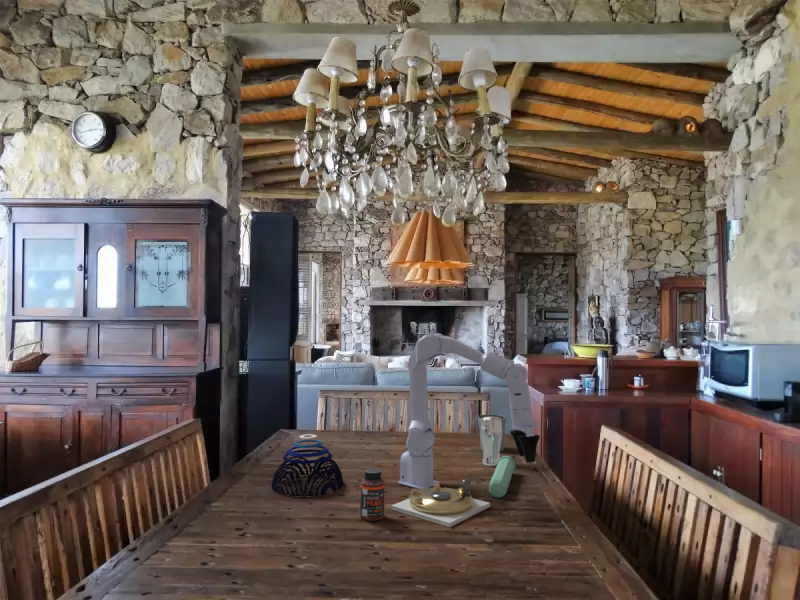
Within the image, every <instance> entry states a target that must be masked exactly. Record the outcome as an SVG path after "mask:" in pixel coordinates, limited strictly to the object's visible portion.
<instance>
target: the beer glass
mask: <svg viewBox="0 0 800 600" xmlns="http://www.w3.org/2000/svg"><path fill="white" fill-rule="evenodd" d="M481 438H482V444H483V450H482V451H483V456H482V460H481V461H482V465H485V466H489V467H497V461H498V460H499V459H500V458H501V457H500V455H501V454H500V445H501V439H502V422H501V418H499V417H491V416H488V417H482V420H481Z"/></svg>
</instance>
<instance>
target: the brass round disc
mask: <svg viewBox="0 0 800 600" xmlns="http://www.w3.org/2000/svg"><path fill="white" fill-rule="evenodd" d="M409 498H410V505H411V507H412V508H414V509H416V510H418V511H421V512H424V513H429V514H437V515H451V514H458V513H462V512H465V511H468V510H469V509H471V508H472V506H473V499H474V498H473V496H472V495H471V479H470V478H462V482H461V487H458V488H451V487H441V485H440V483H439V484H434V486H433V487H429V488H426V489H418V488H414V487H412V489H411V493H410V494H409Z"/></svg>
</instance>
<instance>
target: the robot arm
mask: <svg viewBox="0 0 800 600" xmlns="http://www.w3.org/2000/svg"><path fill="white" fill-rule="evenodd" d="M442 354H455V355H457V356H460V357H462V358H465V359H467V360H469V361H471V362H475V363H476V364H478V365H479V367H480V370H481V371H483V372H484V373H487V374H489V375H492V376H494V378H495V377H496V378H497V379H500V380H502V381H503V380H505V383H506V384H507V387H508V393H507V394H508V398H509V399H508V401H509V409H510V410H509V411H510V417H511V429H512V430H511V429H510V430H509V433H510V435H511V437H512V438H513V440H514V444H515V447H516V450H517V453H518V455H519V457H524V459H525V461H526V462H527V463H534V462H536V456H537V455H536V454H537V447H538V443H539V440H540V435H539V434H535V430H534V429H535V428H536V427H538V426H539V424H538V423H537V422H534V419H533V417H534V416H533V409H532V402H531V393H530V389H529V384H528V383H529V382H528V381H527V380H528V379H529V371H528V369H527V367H525V366H524V365H522V364H521V363H517V362H516V363H515V360H513V359H510V360H509V359H507V358H504V357H503V356H500V353H499V352H498V351H494V352H492V351H489V352H485V353H484V352H481V351H480V350H477V349H475V348H473V347H472V346H469V345H468V344H466V343H464V342H462V341H460V340H457V339H456V338H453V337H451V336H448V335H443V334H442V333H440V332H439V333H437V332H436V333H428V334H424V335H423V336H422V337H420V338H419V339H418V340H417V341H416V342H415V346H414V349H413V351H412V352H411V354H410V355H409V358H408V377H409V379H408V381H409V402H410V403H409V404H410V423H409V426H408V435H407V438H406V441H405V447H406V449H407V450H405V452H403V453H402V454H401V456H400V460H399V481H398V482H397V483H398V484H399V485H403V486H407V487H410V488H414V489H419V490H421V489H426V488H433V487H434V484H439V485H440V481H438V480H434V451H433V448H432V447H433V446H434V444H435V443H436V436H435V433H434V431H433V428H432V425H433V424H432V423H431V422H432V421H430V414H429V398H428V396H429V395H428V376H427V366H428V365H429V364H430V363H431V362H432V361H433V359H434V358H437V357H439V356H440V355H442Z"/></svg>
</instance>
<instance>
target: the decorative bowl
mask: <svg viewBox="0 0 800 600" xmlns="http://www.w3.org/2000/svg"><path fill="white" fill-rule="evenodd" d="M317 437H318V435H316V434H311V433H310V434H309V433H307V434H302V435H298V438H299V439H301V440H298V441H295V442H293V444H292V446H293V447H291V448H289V449H287V450H286V453H284V456H283V458H282V460H283V461H282V463H281V464H280V465H279V466H278V468H277V469H276V471H275V472H274V474H273V478H271V479H272V481H271V490H272V489H273V490H274V491H275V492H277V493H278V490H279V491H280V494H283V495H289V497H290V496H315V497H316V496H317V497H319V496H318V495H321V496H325V495H324V494H327V493H328V492H327V491H328V490H329V489H331V491H333V492H334V491H336V490H338V491H339V489H340V490H341V488H342V487H343V486H344V479H343V474H342V471H341V469H340V467H339V465H338V463H337V462H336V461H335V460H334V459H333V454H332V453H331V452H330V450H329V448H327V447H326V446H323V445H324V443H323V442H322V441H321V440H318V439H316V438H317ZM305 442H306V443H309V442H311V443H313V442H314V443H315V444H300V443H305ZM312 448H315V449H312ZM316 448H318V449H316ZM296 449H297V450H296ZM293 450H294V451H293ZM326 454H327V455H326ZM325 455H326V456H325ZM288 456H290V457H288ZM314 457H318V458H316V459H307V458H314ZM312 464H313V466H312ZM300 465H302V466H300ZM301 475H305V476H306V475H309V476H307V479H306V481H305V483H304V485H303V481H302V479H301V477H300V476H301ZM315 475H318V476H315ZM294 476H295V477H296V478H295V477H294ZM330 477H331V478H330ZM333 477H334V478H333ZM289 478H290V479H289ZM324 478H325V479H324ZM282 479H286V480H284V481H282ZM312 479H313V480H312ZM290 480H291V481H290ZM330 480H331V481H330ZM285 481H287V482H286V483H285ZM326 481H327V482H326ZM278 482H279V483H281V484H283V486H282V485H280V484H279V483H278ZM291 482H292V483H293V486H292V483H291ZM310 483H311V484H310ZM297 485H298V486H297ZM303 486H304V487H303ZM309 486H310V487H309ZM288 487H289V488H290V489H289V488H288ZM293 487H294V488H293ZM308 487H309V488H308ZM284 488H285V489H284ZM294 489H295V490H294ZM273 490H272V491H273ZM274 491H273V492H274ZM285 491H286V494H285ZM275 492H274V493H275ZM299 492H300V493H299ZM336 492H337V491H336ZM290 493H291V494H290ZM334 493H335V492H334ZM283 495H282V496H283Z"/></svg>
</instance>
